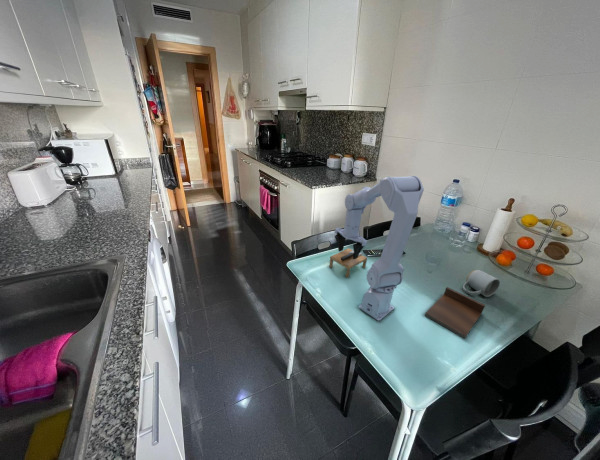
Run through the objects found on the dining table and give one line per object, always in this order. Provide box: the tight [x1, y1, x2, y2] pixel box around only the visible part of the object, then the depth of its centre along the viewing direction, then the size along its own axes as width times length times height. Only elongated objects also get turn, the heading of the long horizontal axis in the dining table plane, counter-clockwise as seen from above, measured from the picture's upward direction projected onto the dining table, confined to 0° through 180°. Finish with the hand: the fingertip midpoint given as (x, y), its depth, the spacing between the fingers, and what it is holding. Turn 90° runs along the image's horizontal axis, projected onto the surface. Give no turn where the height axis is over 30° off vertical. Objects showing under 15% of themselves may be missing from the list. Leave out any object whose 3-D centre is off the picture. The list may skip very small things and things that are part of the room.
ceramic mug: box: [462, 269, 501, 298], centre depth 93 cm, size 11×8×8 cm
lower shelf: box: [424, 286, 486, 340], centre depth 82 cm, size 16×12×4 cm
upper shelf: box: [328, 247, 368, 279], centre depth 105 cm, size 12×10×5 cm
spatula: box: [341, 249, 363, 261], centre depth 104 cm, size 11×4×1 cm, turn 131°
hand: (347, 254), depth 102 cm, fingers open, 7 cm apart
